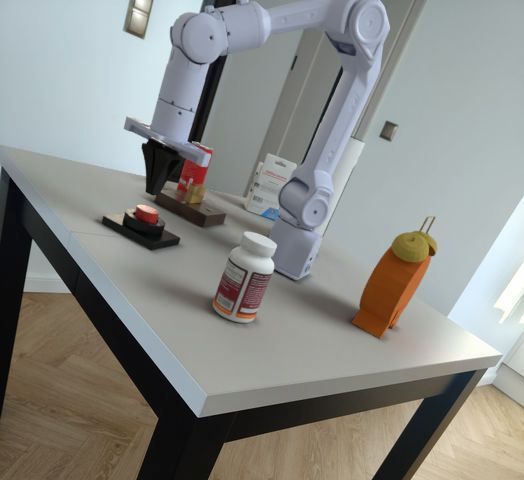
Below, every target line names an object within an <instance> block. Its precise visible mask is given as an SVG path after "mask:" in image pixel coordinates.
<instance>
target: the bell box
mask: <svg viewBox="0 0 524 480" xmlns="http://www.w3.org/2000/svg"><path fill="white" fill-rule="evenodd" d="M135 211H136V208H126V209H125V211H124V213H118V214H106V215H103V216H102V219H101V224H102V225H104V226H106V227H108V228H110V229H112V230H113V231H115V232H117V233H119V234H121V235H123V236H125V237H126V238H129V239H130V240H131V241H134V242H135V243H138V244H139V245H140V246H143V247H145V248H147V249H148V250H150V251H155V250H160V249H165V248H170V247H174V246H178V245H179V244H180V241H181V237H179V236H178V235H176V234H174V233H173V232H170V231H169V230H167V229H166V228H165V227H166V222H165V220H163V218H161V217H160V216H158V218H157V222H156V223H151V222H147V221H144V220H141V219H139V218H137V217H135V216H134V215H135Z"/></svg>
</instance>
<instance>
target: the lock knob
mask: <svg viewBox="0 0 524 480" xmlns="http://www.w3.org/2000/svg"><path fill="white" fill-rule="evenodd" d="M207 188H208V186H206V185H204V184H203V185H202V184H194V183H191V184H189V187H188V191H187V194H186V197H185V200H184V201H186V202H188V203H190V204H191V203H202V200H204V197H205V194H206V192H207Z"/></svg>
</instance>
